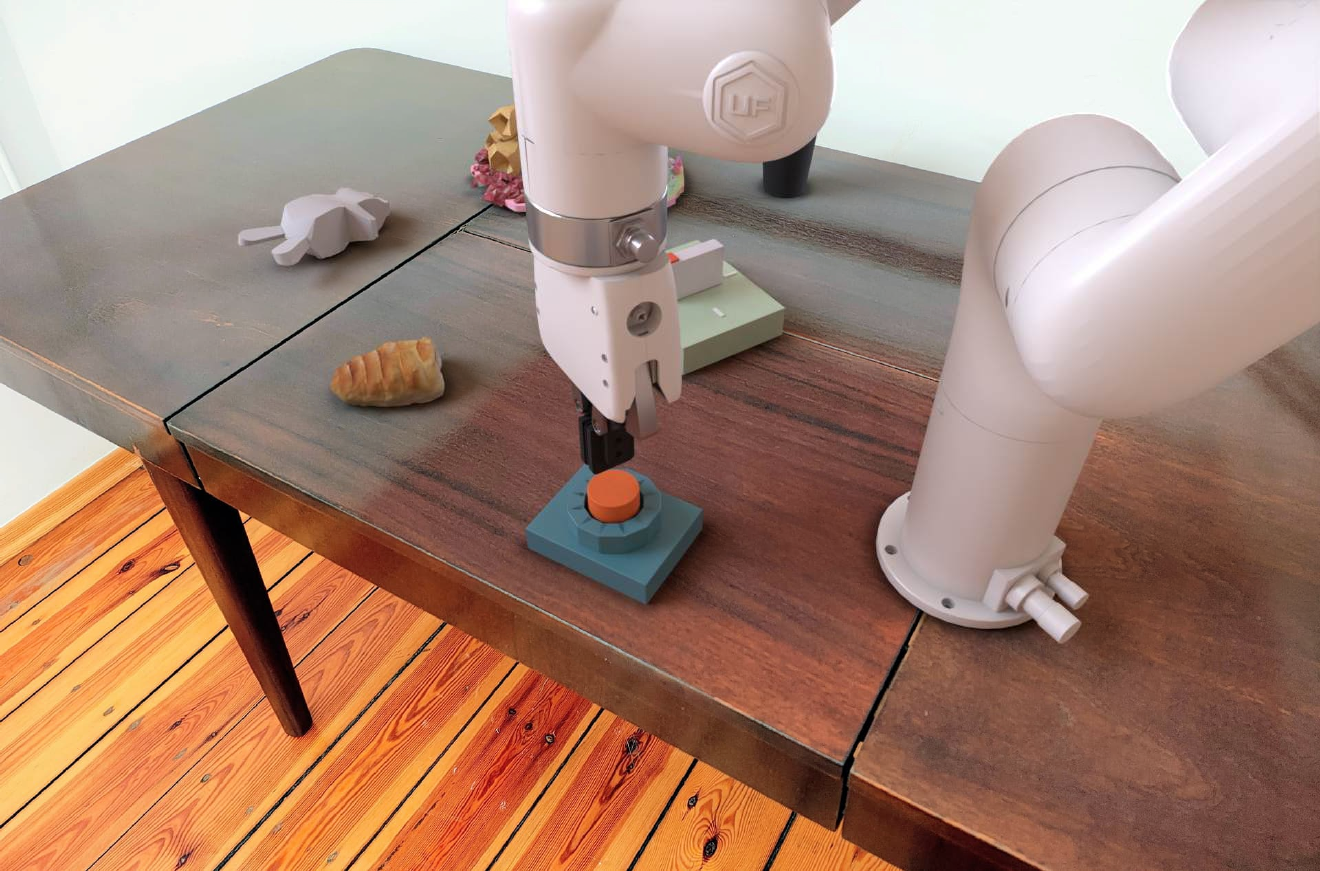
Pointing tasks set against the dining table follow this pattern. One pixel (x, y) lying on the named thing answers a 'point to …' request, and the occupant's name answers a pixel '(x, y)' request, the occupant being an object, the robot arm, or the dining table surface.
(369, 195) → the bunny figurine
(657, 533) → the button block
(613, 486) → the button
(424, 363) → the pastry
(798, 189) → the drinking cup
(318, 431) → the dining table surface
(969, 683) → the dining table surface
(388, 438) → the dining table surface
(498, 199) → the pastel sphere sculpture
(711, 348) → the panel
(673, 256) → the white block with red
